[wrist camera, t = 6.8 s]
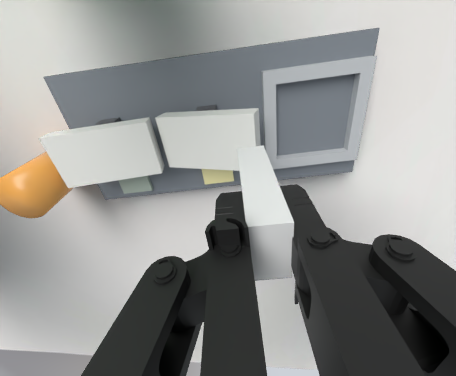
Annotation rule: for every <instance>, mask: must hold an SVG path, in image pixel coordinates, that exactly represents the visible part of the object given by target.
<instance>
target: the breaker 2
mask: <svg viewBox="0 0 456 376" xmlns="http://www.w3.org/2000/svg"><path fill="white" fill-rule="evenodd" d="M155 119H156V123H157V126H158V129H159V133H160V136H161V140H162V143H163V147H164V150H165V153H166V157H167V160H168V164H169V167H175V168H195V169H214V170H234V171H239V162H238V153H237V149H238V148H247V147H255V146H261V144H260V123H259V108H250V109H229V110H208V111H187V112H166V113H163V114H161V115H159V116H157V117H155Z"/></svg>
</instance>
